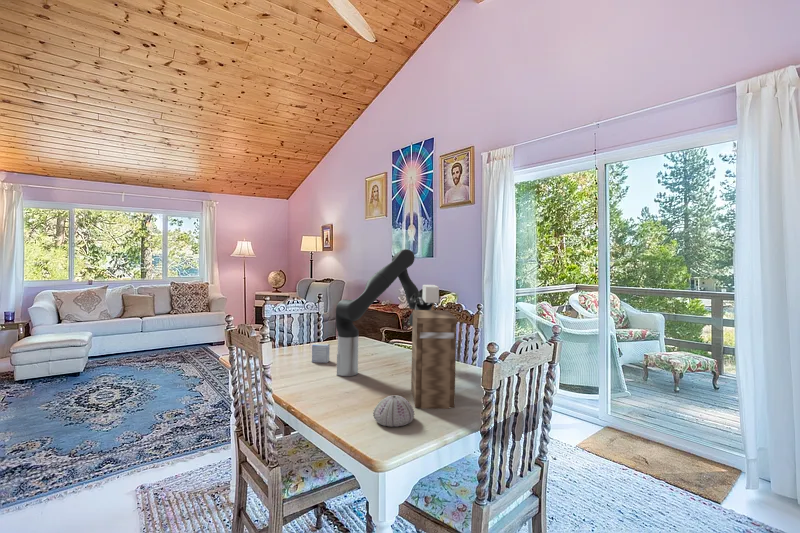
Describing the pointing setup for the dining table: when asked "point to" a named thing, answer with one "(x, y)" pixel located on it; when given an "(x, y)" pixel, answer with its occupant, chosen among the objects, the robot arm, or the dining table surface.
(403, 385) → the dining table surface
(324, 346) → the medicine box
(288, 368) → the dining table surface
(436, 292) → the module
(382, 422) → the sea urchin shell
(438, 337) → the shelf unit
